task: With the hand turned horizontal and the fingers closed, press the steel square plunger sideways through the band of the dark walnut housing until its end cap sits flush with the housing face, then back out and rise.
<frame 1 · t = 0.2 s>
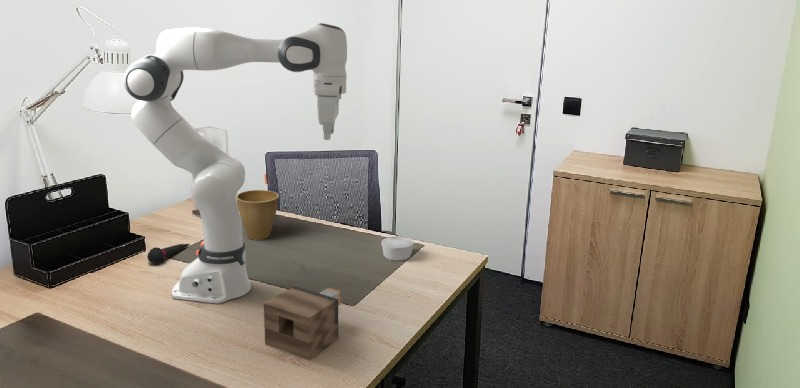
hand: (328, 136, 171), 47 cm above the table, tool pointing down, fingers open, 8 cm apart
plant pot: (259, 237, 228), on the table
microphone: (172, 257, 209), on the table
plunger: (318, 306, 161), point 7 cm above the table, slide at 8.0 cm
housing: (302, 341, 157), on the table
ramekin: (397, 256, 214), on the table
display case: (212, 215, 250), on the table
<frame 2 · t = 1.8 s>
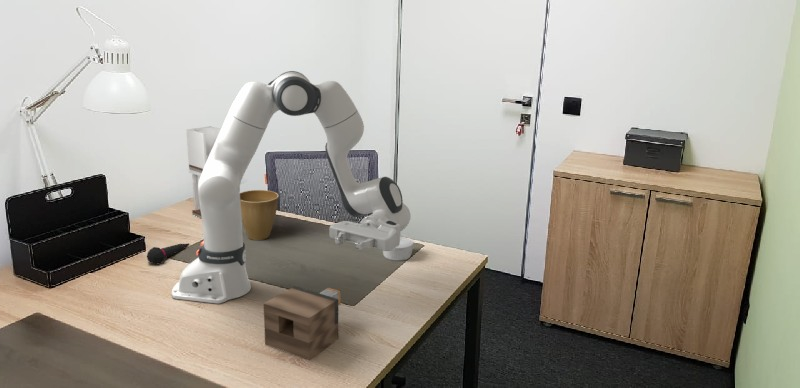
hand: (347, 244, 168), 20 cm above the table, tool horizontal, fingers open, 5 cm apart
nothing on the table moved.
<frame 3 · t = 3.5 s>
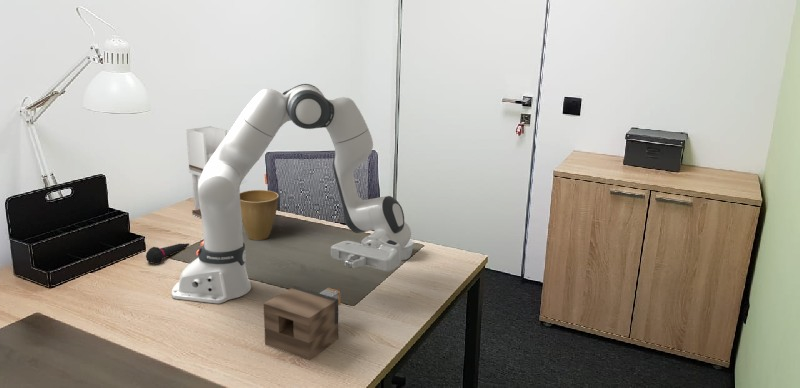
hand: (348, 264, 170), 14 cm above the table, tool horizontal, fingers closed
nothing on the table moved.
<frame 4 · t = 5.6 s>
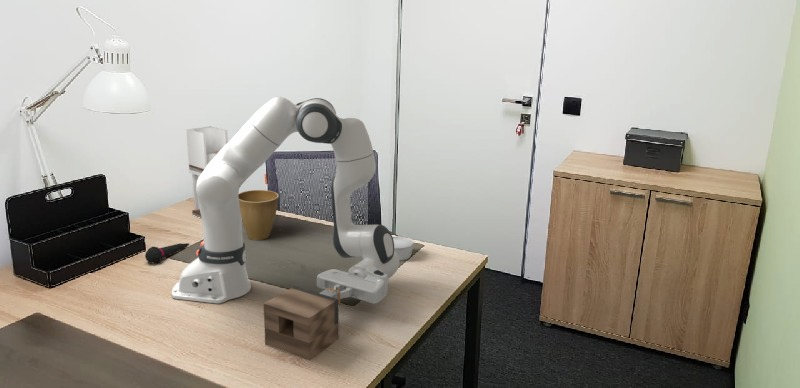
hand: (334, 296, 167), 7 cm above the table, tool horizontal, fingers closed, pressing on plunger
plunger: (318, 306, 161), point 7 cm above the table, slide at 7.9 cm, touching gripper
everything else where it was.
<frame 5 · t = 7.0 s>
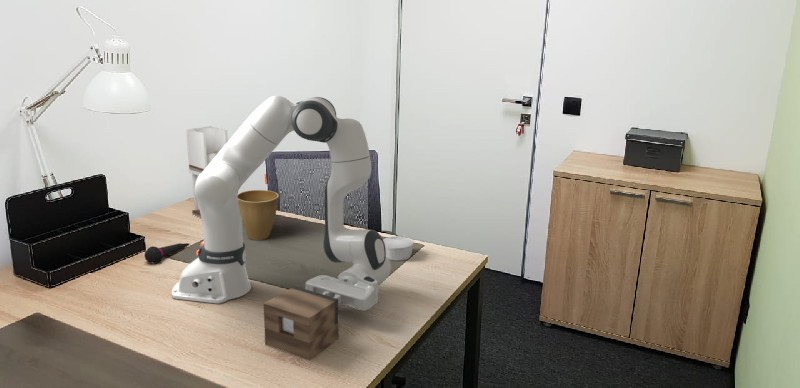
hand: (322, 303, 163), 7 cm above the table, tool horizontal, fingers closed, pressing on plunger
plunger: (306, 313, 157), point 7 cm above the table, slide at 2.9 cm, touching gripper
everything else where it was.
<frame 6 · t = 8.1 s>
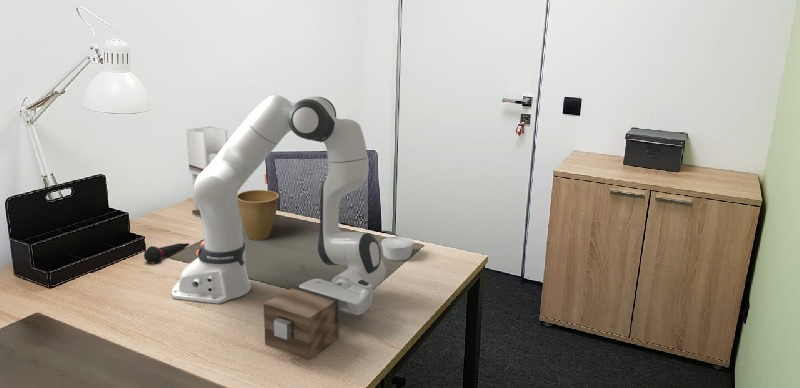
hand: (316, 307, 160), 7 cm above the table, tool horizontal, fingers closed, pressing on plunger
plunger: (298, 318, 154), point 7 cm above the table, slide at -0.1 cm, touching gripper
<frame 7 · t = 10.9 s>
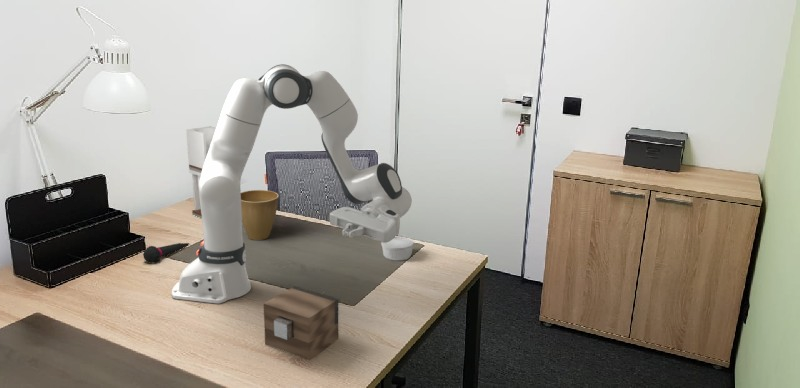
hand: (346, 234, 170), 22 cm above the table, tool horizontal, fingers closed
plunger: (299, 318, 154), point 7 cm above the table, slide at 0.0 cm
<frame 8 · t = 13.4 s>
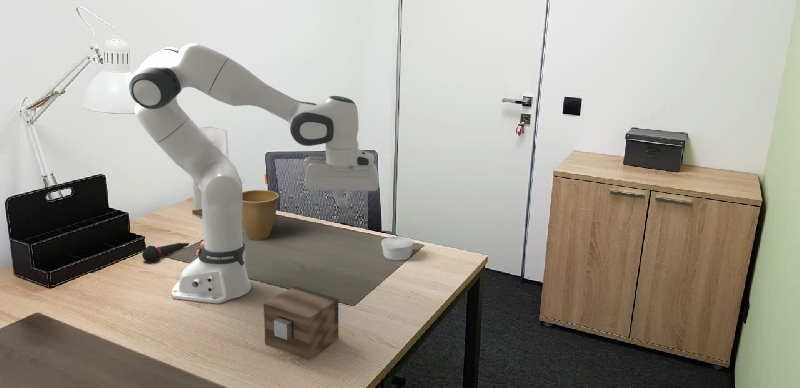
hand: (341, 205, 172), 29 cm above the table, tool pointing down, fingers closed
at the end: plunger slide at 0.0 cm; the gripper is holding nothing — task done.
